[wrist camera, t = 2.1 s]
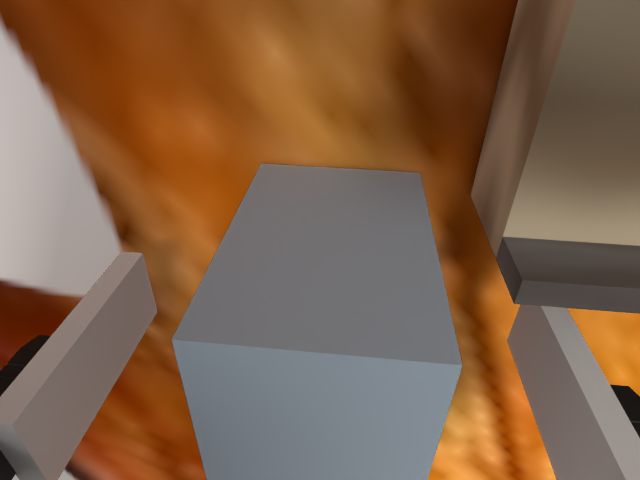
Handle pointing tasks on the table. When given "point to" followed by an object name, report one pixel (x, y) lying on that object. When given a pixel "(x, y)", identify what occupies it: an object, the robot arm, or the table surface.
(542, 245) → the grey slotted stand
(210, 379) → the grey rectangular block
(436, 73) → the table surface
